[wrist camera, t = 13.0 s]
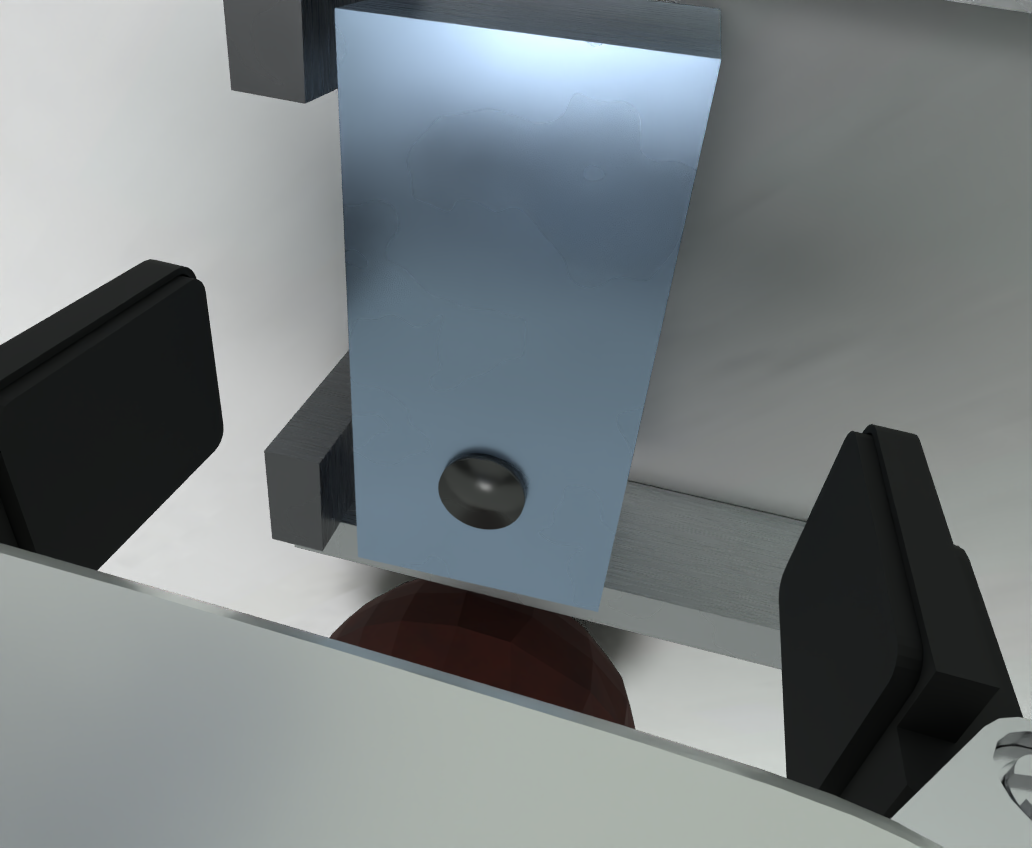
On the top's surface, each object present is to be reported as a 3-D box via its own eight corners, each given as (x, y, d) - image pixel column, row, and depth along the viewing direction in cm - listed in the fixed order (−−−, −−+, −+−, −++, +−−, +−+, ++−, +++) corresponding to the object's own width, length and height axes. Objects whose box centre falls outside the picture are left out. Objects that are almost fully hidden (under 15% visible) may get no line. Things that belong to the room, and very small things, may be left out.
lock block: (720, 8, 14) (721, 62, 9) (627, 440, 20) (596, 619, 15) (460, -25, 15) (328, 9, 10) (443, 403, 20) (354, 563, 15)
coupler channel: (1261, -57, 12) (1539, -42, 8) (891, 578, 20) (935, 745, 16) (356, -183, 14) (202, -224, 10) (357, 452, 22) (275, 576, 18)
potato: (352, 488, 23) (214, 706, 17) (664, 543, 21) (642, 804, 15) (370, 663, 27) (268, 886, 21) (628, 717, 26) (601, 974, 20)
